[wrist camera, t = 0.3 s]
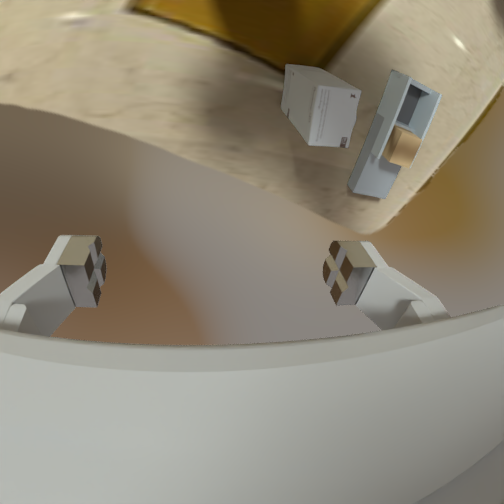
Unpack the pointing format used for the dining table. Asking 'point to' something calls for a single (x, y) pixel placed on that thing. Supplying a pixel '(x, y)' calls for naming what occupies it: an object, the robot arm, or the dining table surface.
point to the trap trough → (389, 114)
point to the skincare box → (319, 105)
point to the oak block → (401, 147)
